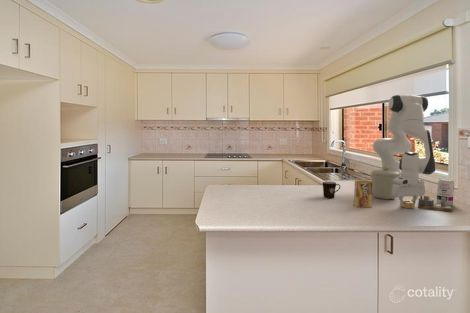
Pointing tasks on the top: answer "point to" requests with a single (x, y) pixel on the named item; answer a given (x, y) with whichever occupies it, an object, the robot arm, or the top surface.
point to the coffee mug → (329, 189)
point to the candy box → (363, 193)
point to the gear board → (437, 205)
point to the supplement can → (445, 191)
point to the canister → (383, 182)
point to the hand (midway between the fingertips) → (407, 203)
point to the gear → (426, 201)
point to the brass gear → (408, 204)
